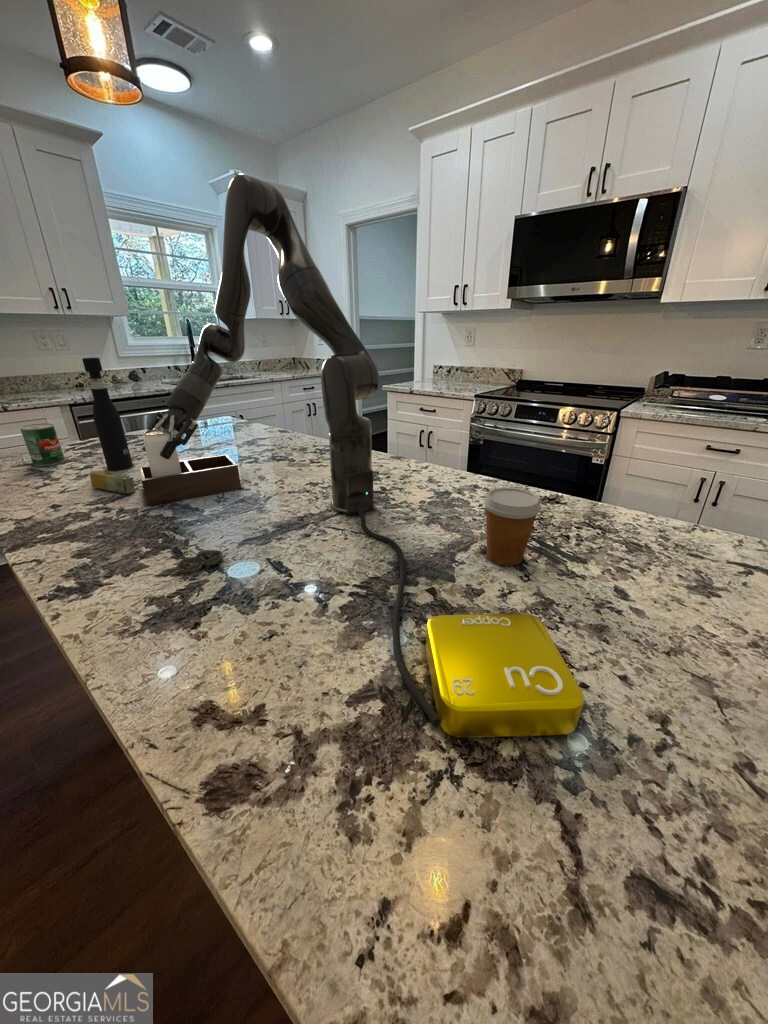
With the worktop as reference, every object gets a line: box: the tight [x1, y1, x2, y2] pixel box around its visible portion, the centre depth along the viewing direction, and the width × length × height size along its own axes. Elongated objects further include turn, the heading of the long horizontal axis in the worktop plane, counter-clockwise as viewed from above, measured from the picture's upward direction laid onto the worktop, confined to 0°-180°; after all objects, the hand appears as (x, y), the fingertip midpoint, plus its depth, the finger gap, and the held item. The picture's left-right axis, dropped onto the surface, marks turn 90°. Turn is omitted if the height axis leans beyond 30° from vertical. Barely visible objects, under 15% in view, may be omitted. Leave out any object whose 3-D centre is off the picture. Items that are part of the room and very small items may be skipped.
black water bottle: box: [81, 357, 134, 471], centre depth 116 cm, size 6×6×30 cm
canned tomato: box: [19, 422, 66, 467], centre depth 123 cm, size 8×8×11 cm
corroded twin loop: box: [176, 549, 223, 573], centre depth 73 cm, size 5×8×1 cm, turn 139°
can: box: [142, 428, 181, 478], centre depth 100 cm, size 6×6×12 cm
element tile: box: [425, 613, 585, 739], centre depth 49 cm, size 15×15×5 cm
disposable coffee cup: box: [483, 487, 542, 567], centre depth 74 cm, size 10×10×12 cm
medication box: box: [89, 470, 136, 495], centre depth 105 cm, size 12×3×4 cm, turn 70°
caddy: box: [137, 453, 242, 507], centre depth 105 cm, size 11×21×6 cm, turn 122°
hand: (155, 454), depth 98 cm, fingers closed on can, 6 cm apart
